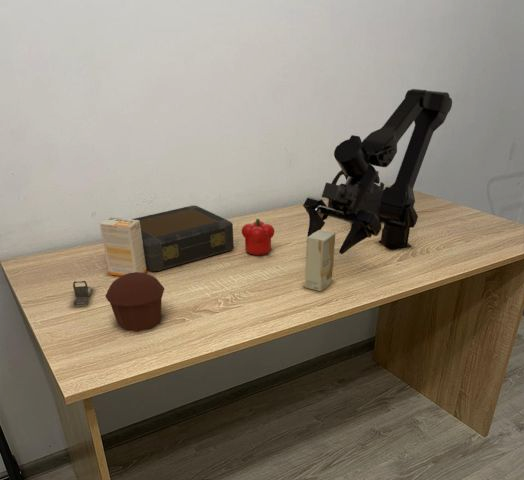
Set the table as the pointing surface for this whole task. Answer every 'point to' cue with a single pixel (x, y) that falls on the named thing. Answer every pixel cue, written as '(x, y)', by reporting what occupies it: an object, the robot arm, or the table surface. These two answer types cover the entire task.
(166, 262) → the cash box
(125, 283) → the muffin
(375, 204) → the virtual reality headset
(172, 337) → the table surface
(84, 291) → the strap clip
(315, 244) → the cosmetic box
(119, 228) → the supplement box
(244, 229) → the red pepper
